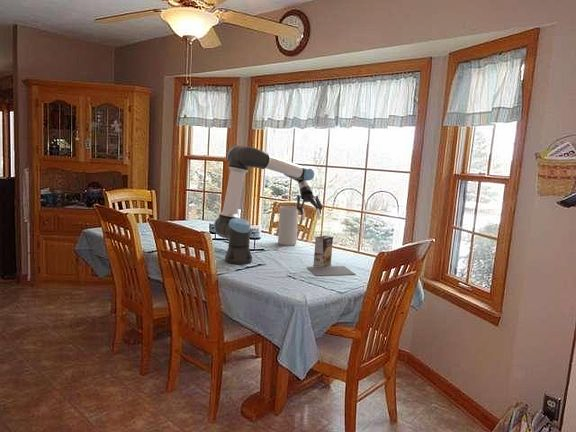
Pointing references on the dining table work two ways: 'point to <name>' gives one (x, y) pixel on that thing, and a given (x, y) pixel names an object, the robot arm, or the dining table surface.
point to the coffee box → (323, 250)
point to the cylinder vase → (288, 225)
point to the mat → (330, 271)
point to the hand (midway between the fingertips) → (312, 218)
